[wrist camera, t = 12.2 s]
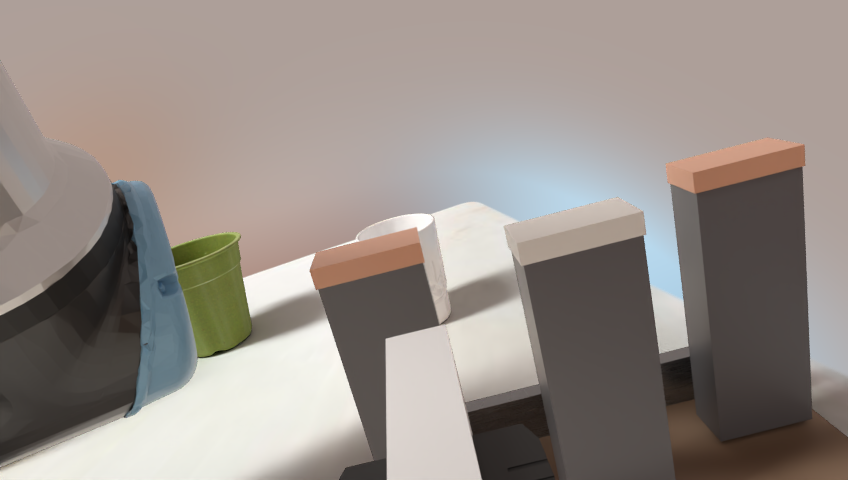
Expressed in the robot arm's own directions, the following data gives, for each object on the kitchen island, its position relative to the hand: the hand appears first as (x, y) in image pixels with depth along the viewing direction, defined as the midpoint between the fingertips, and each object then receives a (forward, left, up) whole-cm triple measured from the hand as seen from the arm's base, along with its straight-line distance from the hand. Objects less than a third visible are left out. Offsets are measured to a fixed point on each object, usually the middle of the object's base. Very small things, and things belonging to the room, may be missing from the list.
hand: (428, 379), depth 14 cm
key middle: (0, +12, -15) cm, 20 cm away
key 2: (-9, +10, -15) cm, 21 cm away
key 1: (+6, +20, -15) cm, 26 cm away
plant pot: (-47, +26, -17) cm, 57 cm away
